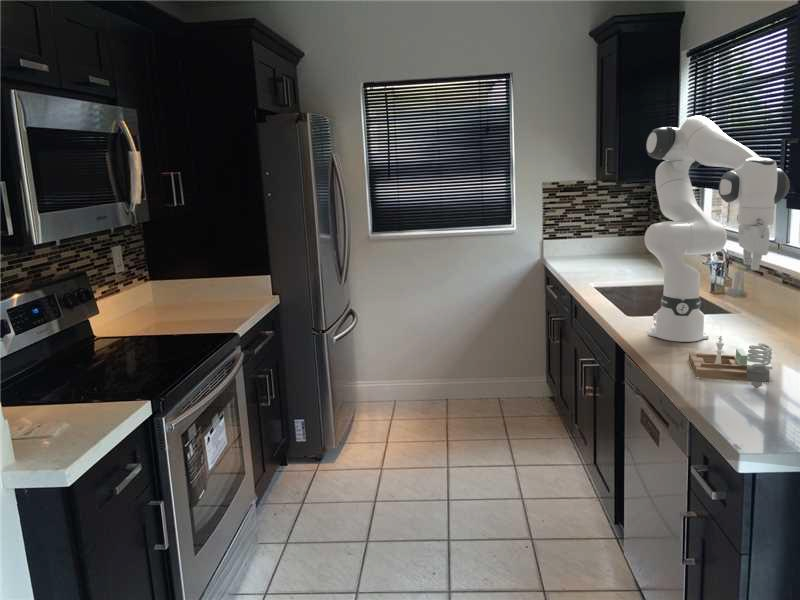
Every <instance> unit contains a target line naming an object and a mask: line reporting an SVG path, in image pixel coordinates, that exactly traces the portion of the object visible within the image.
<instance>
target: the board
mask: <svg viewBox="0 0 800 600" xmlns="http://www.w3.org/2000/svg"><path fill="white" fill-rule="evenodd" d="M734 356H735V355H733V354H732V355H730V354H729V355H728V354H721V364H714V363H715V361H716V357H717V353H716V354H714V353H713V354H711V353H699V352H698V353H696V352H695V353H694V352H689V354H688V363H689V362H690V363H689V365H690V364H691V365H690V368H691V370H692V369H693V370H692V371H694V372H693V374H694V373H695V374H694V375H695V376H694V377H695V378H696V377H699V378H698V379H707V378H708V380H709V379H710V380H722V381H723V380H725V381H738V382H750V383H752V382H751V380H749V379H747V371H746V370H747V367H748V366H744V365H738V364H737V362H736V361H735V359H734ZM770 375H771V373H769V376H770ZM765 382H766V383H767V382H768V383H770V377H769V378H768V380H767V381H765ZM765 382H764V383H765ZM768 383H767V384H768Z"/></svg>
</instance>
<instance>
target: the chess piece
mask: <svg viewBox="0 0 800 600" xmlns="http://www.w3.org/2000/svg"><path fill="white" fill-rule="evenodd" d="M717 338H718V341H716V343H715V345H716V347H717V349H715V350H714V351H715V352H716V355H717V357H716V361H715V363H714V364H721V355H722V353H724V350H723V346H724V345H725V342H723V341H724V339H723V336H722V335H719V336H718V337H717Z"/></svg>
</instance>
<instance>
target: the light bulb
mask: <svg viewBox="0 0 800 600" xmlns="http://www.w3.org/2000/svg"><path fill="white" fill-rule="evenodd" d="M772 351H773V348H772V346H770V345H768V344H765V343H761V342H759V343H758V344H757V345H753V344H751V345H749V346H748V350H747V353H746V354H747V356H748V357H750V358H748V359H747V360H748V361H750V362H760V363H762V364H753V365H752V366H748V367H747V370H746V371H747V379H749V380H751V382H750V384H751V385H752V386H753V387H754V388H756V389H758V388H761V387H762V386H763V383H765V381H767V380H768V378H769V379H770V375H769V374H771V373H770V370H771V369H768V368H766V365H769V364H771V363H772V355H773V352H772ZM757 358H762V359H757ZM767 361H768V362H767ZM765 362H767V363H765Z"/></svg>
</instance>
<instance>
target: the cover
mask: <svg viewBox="0 0 800 600" xmlns="http://www.w3.org/2000/svg"><path fill="white" fill-rule="evenodd" d="M747 354H748V353H746V351H745V350H744V349H743V348H738V347H737V348H736V349H735V355H733V356H734V359H735V361H736V362H737V364H738V365H744V366H752V365H753V364H762V363H760V362H750V361H748V360H747V359H748V358H750V357H748V356H747ZM757 359H762V358H757ZM767 362H768V361H767ZM767 362H765V363H767ZM766 368H768V369H769V370H773V366H772V364H771V363H770V364H769V365H766Z"/></svg>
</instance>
